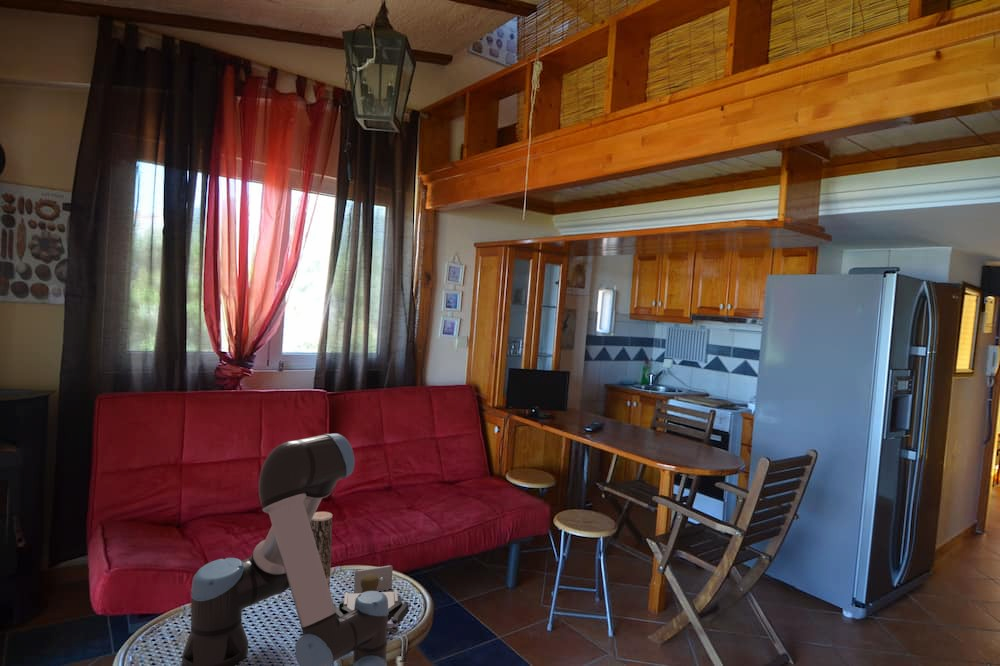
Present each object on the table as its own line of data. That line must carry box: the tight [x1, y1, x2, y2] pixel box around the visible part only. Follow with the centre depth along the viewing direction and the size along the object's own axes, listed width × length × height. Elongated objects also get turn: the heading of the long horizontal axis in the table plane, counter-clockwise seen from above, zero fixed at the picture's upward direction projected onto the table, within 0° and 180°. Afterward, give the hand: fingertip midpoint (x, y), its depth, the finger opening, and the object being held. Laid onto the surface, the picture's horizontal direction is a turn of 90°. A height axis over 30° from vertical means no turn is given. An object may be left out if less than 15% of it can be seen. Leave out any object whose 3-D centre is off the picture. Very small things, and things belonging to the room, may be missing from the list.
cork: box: [361, 574, 379, 593], centre depth 169 cm, size 6×6×11 cm
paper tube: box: [310, 511, 333, 591], centre depth 181 cm, size 7×7×25 cm
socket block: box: [347, 591, 394, 629], centre depth 170 cm, size 14×14×4 cm
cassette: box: [353, 564, 393, 594], centre depth 184 cm, size 12×2×8 cm, turn 115°
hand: (371, 595), depth 164 cm, fingers open, 13 cm apart
